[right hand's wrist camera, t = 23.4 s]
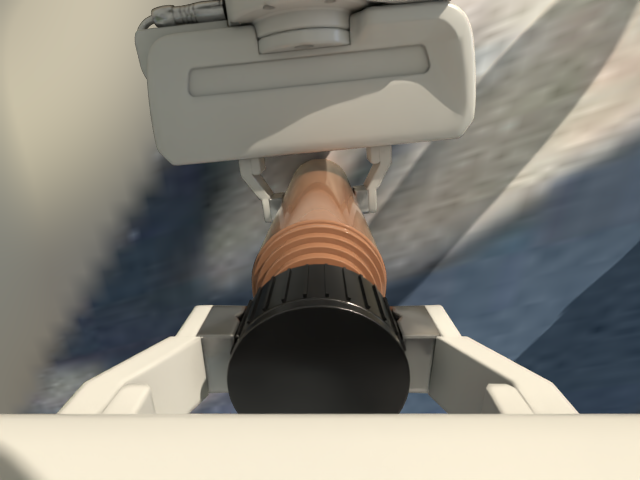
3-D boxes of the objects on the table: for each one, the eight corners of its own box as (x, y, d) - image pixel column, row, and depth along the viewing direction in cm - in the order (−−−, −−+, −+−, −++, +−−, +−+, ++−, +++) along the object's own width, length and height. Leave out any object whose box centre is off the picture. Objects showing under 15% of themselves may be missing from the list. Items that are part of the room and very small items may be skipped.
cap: (265, 398, 11) (252, 464, 9) (225, 277, 10) (198, 322, 7) (401, 376, 11) (421, 440, 9) (382, 247, 9) (400, 287, 7)
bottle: (344, 153, 29) (411, 261, 8) (352, 211, 30) (427, 430, 9) (284, 164, 29) (190, 297, 8) (296, 220, 31) (245, 453, 10)
